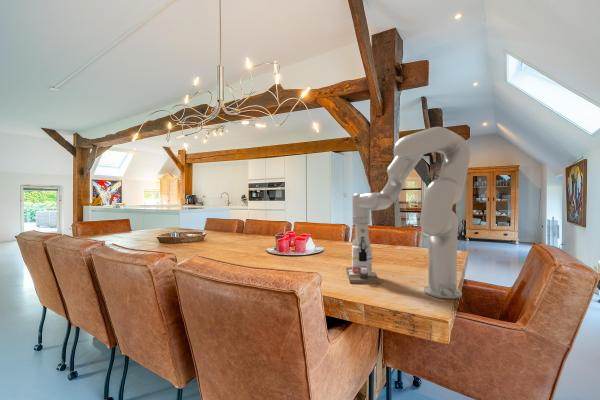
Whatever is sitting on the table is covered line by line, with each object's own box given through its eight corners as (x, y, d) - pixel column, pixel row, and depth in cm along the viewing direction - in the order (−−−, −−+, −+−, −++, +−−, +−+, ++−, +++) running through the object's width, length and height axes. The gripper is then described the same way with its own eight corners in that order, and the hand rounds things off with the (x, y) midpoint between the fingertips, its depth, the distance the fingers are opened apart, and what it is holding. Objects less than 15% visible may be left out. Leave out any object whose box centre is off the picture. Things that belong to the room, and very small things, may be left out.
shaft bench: (379, 283, 120) (379, 269, 120) (350, 283, 121) (349, 269, 121) (371, 270, 141) (371, 258, 141) (346, 270, 142) (346, 258, 142)
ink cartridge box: (352, 273, 129) (352, 240, 128) (351, 270, 134) (351, 238, 133) (372, 273, 128) (372, 240, 128) (370, 271, 133) (370, 238, 133)
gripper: (372, 222, 122) (373, 263, 122) (366, 219, 139) (367, 255, 139) (354, 222, 122) (354, 263, 123) (350, 219, 140) (351, 254, 140)
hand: (361, 258), depth 131 cm, fingers open, 9 cm apart
